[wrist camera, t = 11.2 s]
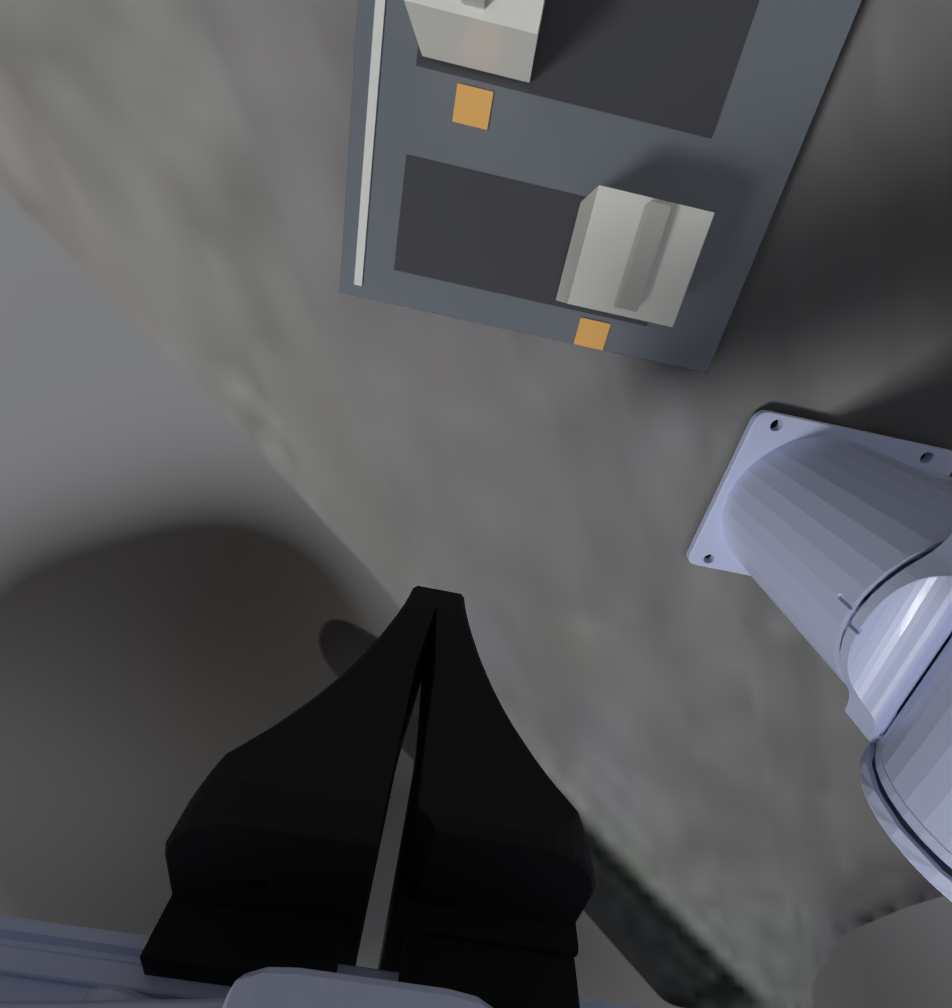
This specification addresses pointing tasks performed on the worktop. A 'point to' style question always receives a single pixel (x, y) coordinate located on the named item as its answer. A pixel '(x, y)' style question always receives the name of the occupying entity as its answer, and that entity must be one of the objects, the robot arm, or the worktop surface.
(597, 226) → the light grey block
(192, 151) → the worktop surface
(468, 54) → the tab
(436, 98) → the switch bank
